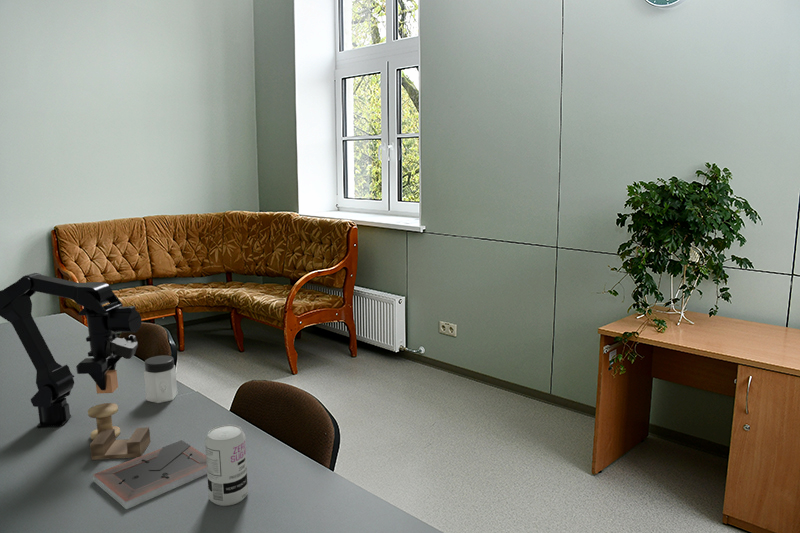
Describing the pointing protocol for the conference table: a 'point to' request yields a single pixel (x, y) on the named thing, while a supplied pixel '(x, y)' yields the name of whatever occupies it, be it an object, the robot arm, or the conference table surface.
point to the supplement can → (226, 465)
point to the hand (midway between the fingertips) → (106, 386)
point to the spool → (103, 418)
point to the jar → (160, 379)
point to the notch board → (119, 444)
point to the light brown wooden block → (109, 382)
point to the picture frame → (152, 474)
